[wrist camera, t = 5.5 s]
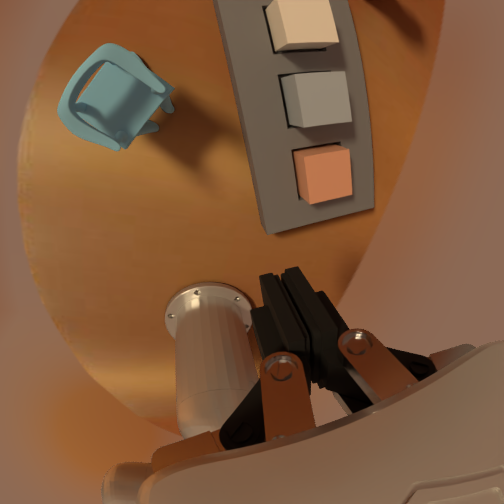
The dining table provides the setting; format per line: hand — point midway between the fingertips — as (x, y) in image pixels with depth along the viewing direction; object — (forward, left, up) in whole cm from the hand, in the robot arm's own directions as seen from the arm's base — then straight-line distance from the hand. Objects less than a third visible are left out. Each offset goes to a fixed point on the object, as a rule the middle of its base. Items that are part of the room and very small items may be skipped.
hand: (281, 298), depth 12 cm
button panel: (+7, -10, -21) cm, 24 cm away
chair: (+11, +7, -22) cm, 25 cm away
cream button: (+15, -10, -19) cm, 26 cm away
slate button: (+7, -10, -19) cm, 22 cm away
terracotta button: (-1, -10, -20) cm, 22 cm away
